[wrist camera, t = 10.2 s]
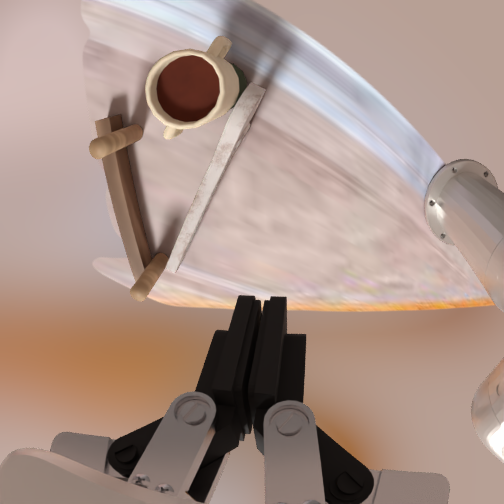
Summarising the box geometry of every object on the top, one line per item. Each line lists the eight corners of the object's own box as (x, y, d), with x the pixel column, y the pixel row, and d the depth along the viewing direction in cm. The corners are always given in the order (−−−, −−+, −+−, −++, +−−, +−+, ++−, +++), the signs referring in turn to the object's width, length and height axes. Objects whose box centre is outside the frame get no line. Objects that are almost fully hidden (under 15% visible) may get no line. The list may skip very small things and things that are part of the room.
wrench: (177, 249, 50) (260, 77, 31) (187, 255, 50) (274, 84, 31) (156, 282, 43) (244, 84, 25) (167, 288, 44) (262, 93, 25)
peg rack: (139, 110, 35) (100, 121, 28) (172, 275, 49) (151, 312, 41) (107, 117, 36) (66, 130, 29) (144, 273, 49) (119, 308, 42)
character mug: (219, 36, 29) (179, 16, 18) (271, 63, 30) (255, 51, 19) (177, 110, 35) (124, 127, 24) (225, 136, 36) (189, 163, 25)
